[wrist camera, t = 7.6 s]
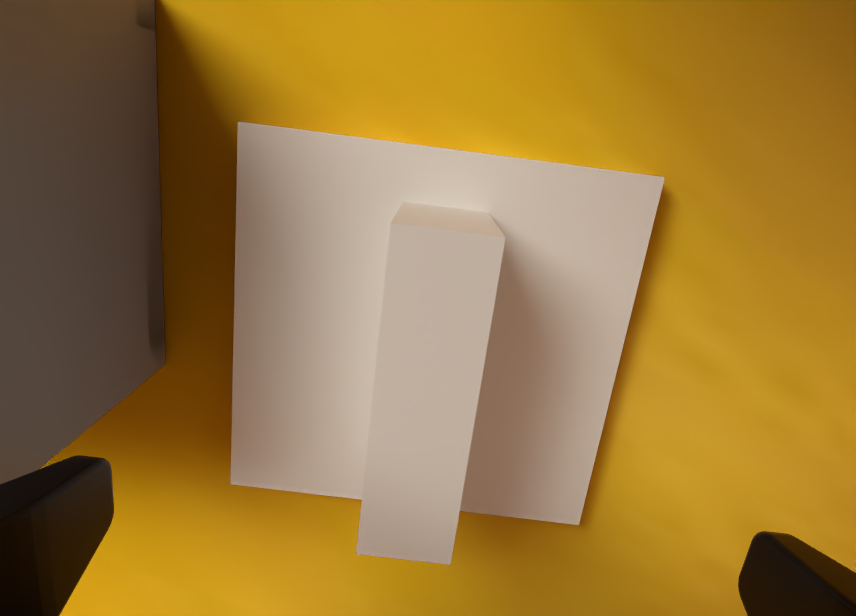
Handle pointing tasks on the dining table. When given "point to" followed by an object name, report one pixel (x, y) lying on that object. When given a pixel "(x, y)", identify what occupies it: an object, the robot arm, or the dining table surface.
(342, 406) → the lid
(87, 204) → the grey open box
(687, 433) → the dining table surface
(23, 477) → the robot arm
